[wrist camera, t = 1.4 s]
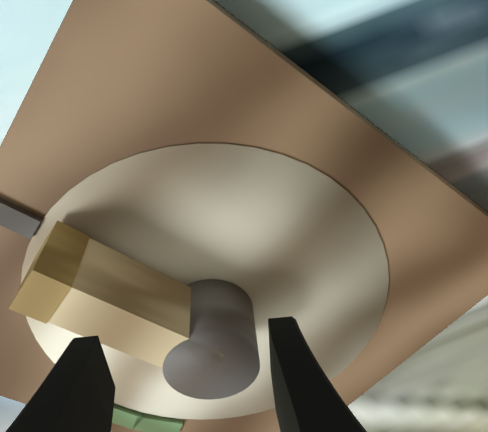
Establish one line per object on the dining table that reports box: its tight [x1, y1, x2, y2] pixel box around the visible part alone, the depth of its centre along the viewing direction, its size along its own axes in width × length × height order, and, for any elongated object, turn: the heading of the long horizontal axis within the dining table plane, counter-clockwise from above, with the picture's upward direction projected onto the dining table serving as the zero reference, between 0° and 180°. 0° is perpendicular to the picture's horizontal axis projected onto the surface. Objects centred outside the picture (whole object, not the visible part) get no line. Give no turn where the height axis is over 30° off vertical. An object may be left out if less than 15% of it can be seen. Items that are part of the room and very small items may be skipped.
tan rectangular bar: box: [9, 220, 260, 400], centre depth 19 cm, size 10×4×3 cm, turn 54°
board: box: [0, 0, 488, 432], centre depth 22 cm, size 22×22×2 cm
